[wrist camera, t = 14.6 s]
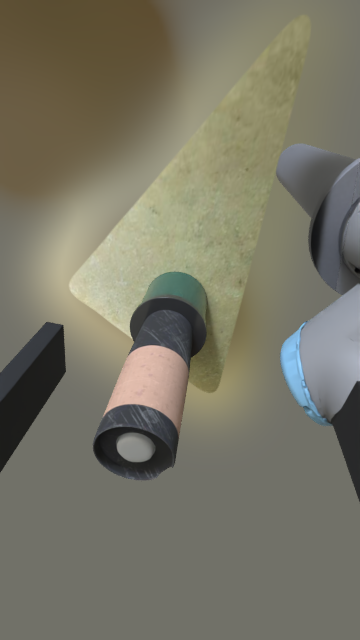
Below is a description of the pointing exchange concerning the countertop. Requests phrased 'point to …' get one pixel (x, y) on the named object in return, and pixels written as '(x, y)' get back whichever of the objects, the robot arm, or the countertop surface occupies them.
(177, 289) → the jar
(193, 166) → the countertop surface
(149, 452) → the travel mug
